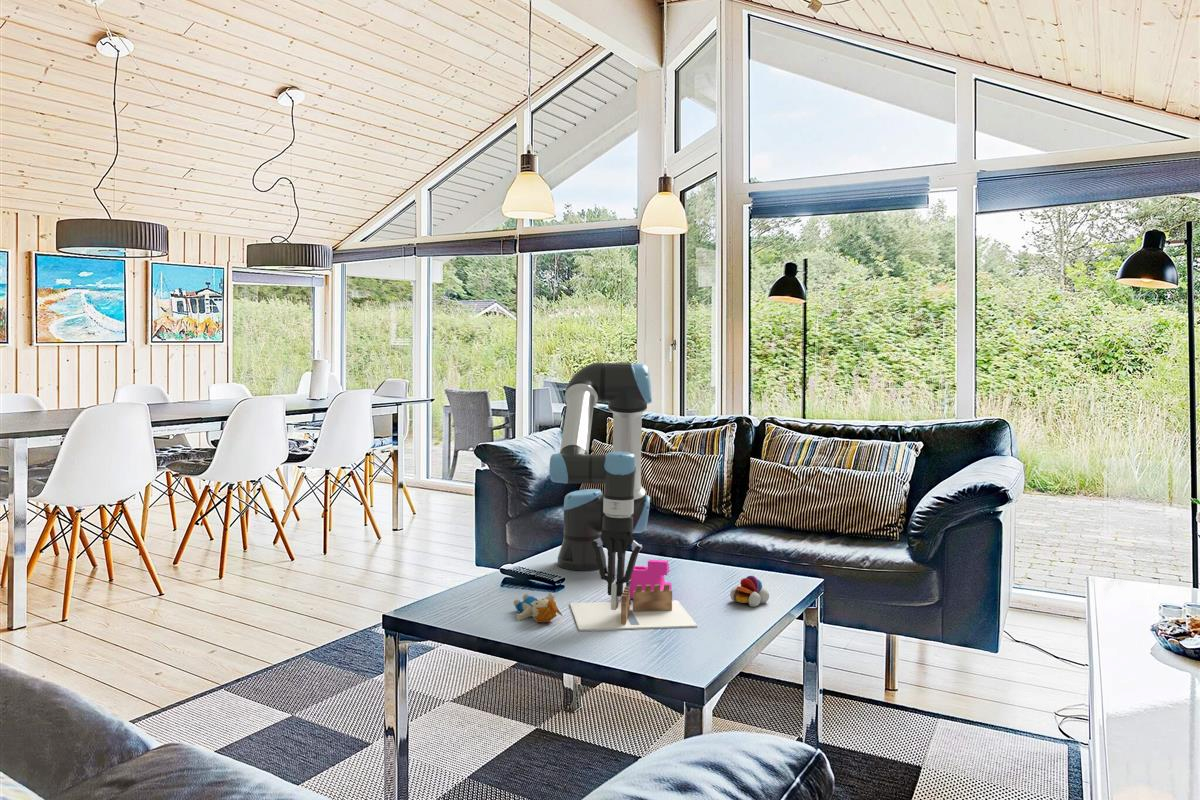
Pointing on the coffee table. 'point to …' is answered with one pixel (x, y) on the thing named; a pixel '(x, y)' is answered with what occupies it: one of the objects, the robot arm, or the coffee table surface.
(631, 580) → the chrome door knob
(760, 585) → the rainbow petal cluster
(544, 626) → the coffee table surface
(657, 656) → the coffee table surface
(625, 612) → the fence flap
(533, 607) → the toy
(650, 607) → the fence fixed
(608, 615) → the card
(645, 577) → the bracket
